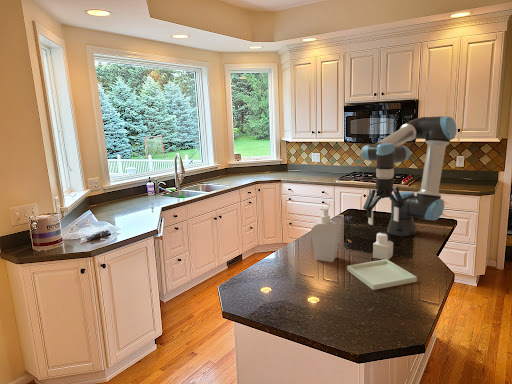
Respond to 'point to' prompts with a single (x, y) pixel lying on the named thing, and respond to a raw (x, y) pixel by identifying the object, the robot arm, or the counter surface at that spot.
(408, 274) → the tray
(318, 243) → the soap bottle
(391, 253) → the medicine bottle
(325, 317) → the counter surface
